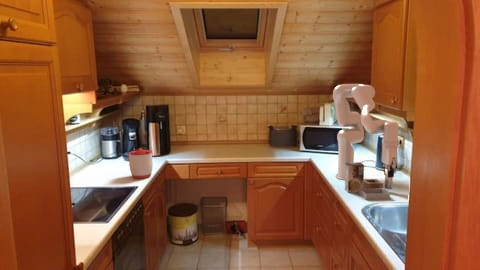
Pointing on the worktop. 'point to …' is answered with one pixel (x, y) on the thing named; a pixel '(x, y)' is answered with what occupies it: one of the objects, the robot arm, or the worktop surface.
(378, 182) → the mount block
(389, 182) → the lock pin
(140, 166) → the citrus juicer
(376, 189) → the dock cradle
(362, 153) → the worktop surface
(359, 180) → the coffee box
